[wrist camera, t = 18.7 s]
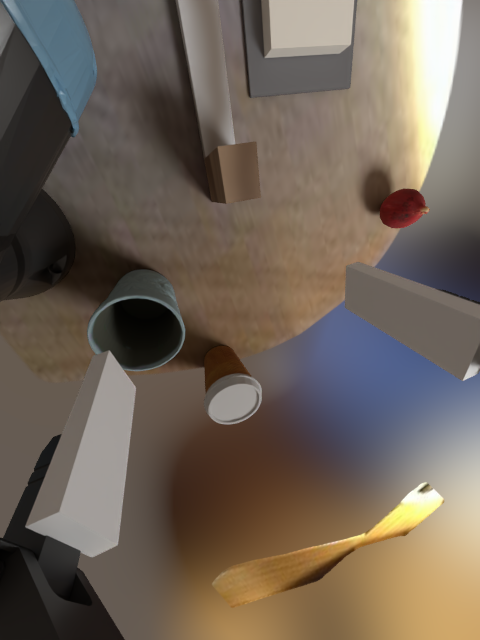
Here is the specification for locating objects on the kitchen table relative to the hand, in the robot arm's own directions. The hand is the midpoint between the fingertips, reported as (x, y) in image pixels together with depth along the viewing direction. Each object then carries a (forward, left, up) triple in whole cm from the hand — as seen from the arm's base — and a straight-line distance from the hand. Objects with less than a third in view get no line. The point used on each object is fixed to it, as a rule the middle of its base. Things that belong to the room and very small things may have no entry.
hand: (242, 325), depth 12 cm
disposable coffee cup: (0, -23, -26) cm, 34 cm away
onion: (+34, -1, -26) cm, 43 cm away
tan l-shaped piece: (+6, +14, -26) cm, 30 cm away
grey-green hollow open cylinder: (-9, -7, -26) cm, 28 cm away
